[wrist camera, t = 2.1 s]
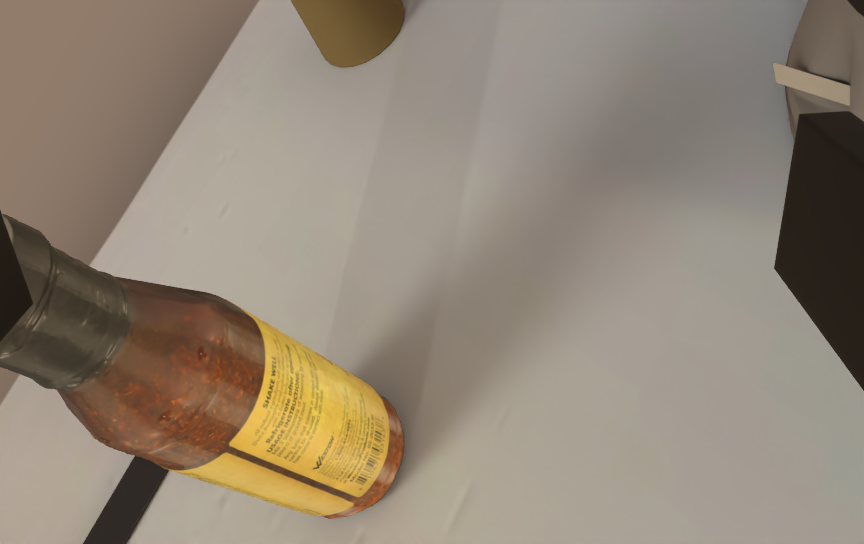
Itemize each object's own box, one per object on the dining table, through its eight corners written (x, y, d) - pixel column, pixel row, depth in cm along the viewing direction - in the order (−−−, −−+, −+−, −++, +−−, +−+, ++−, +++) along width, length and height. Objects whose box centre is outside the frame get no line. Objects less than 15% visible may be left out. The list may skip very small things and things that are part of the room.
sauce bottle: (376, 366, 39) (44, 120, 23) (433, 471, 35) (81, 261, 19) (271, 445, 39) (-123, 258, 24) (316, 557, 35) (-119, 422, 20)
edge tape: (209, 335, 45) (206, 334, 44) (238, 349, 43) (236, 348, 43) (56, 594, 41) (52, 593, 41) (82, 618, 40) (79, 618, 39)
